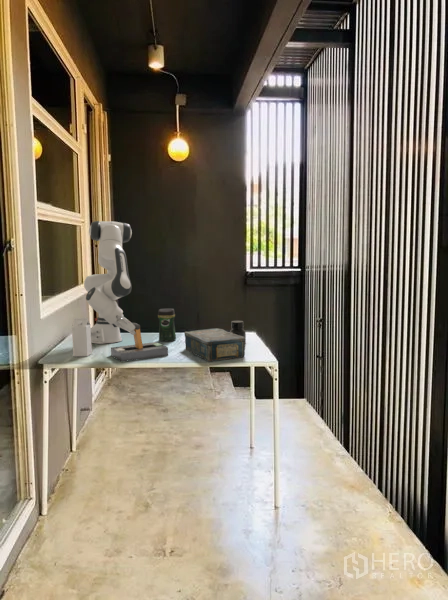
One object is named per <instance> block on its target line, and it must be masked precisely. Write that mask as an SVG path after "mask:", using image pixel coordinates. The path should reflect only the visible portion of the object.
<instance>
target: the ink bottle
mask: <svg viewBox="0 0 448 600" xmlns="http://www.w3.org/2000/svg"><path fill="white" fill-rule="evenodd" d="M230 323H231V324H230V325H231V329H230V331H229V332H232V333H233V334H236V335H239V336H243V337H244V338H245V343H246V342H247V341H246V340H247V339H246V337H247V335H246V333H247V332H246V330H245V329H244V326H245V325H244V321H243V320H231V322H230Z"/></svg>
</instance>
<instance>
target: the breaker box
mask: <svg viewBox="0 0 448 600" xmlns="http://www.w3.org/2000/svg"><path fill="white" fill-rule="evenodd" d="M142 345H143V348H141V349H138V348H136V347H135V344H129V345H122V346H114V347H110V356H111V357H112V358H114V357H115V358H114V359H116V358H117V359H116V360H117V361H119V360H120V361H119V362H121V361H125V362H128V361H127V360H132V361H137V360H136V359H139V360H144V359H151V358H152V359H153V358H158V357H167V356H169V347H168V346H165V345H164V344H162V343H160V342H156V341H155V342H147V343H146V342H145V343H142Z"/></svg>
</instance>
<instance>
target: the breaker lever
mask: <svg viewBox="0 0 448 600" xmlns="http://www.w3.org/2000/svg"><path fill="white" fill-rule="evenodd" d="M131 323H132V324H133V325H134V326H135V329H134V331H135V332H136V333H135V334H134V335H133V340H134V345H135V347H136V348H138V349H141V348H143V345H142V344H143V341H142V333H141V325H140V324H138V323H136V322H131Z"/></svg>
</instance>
